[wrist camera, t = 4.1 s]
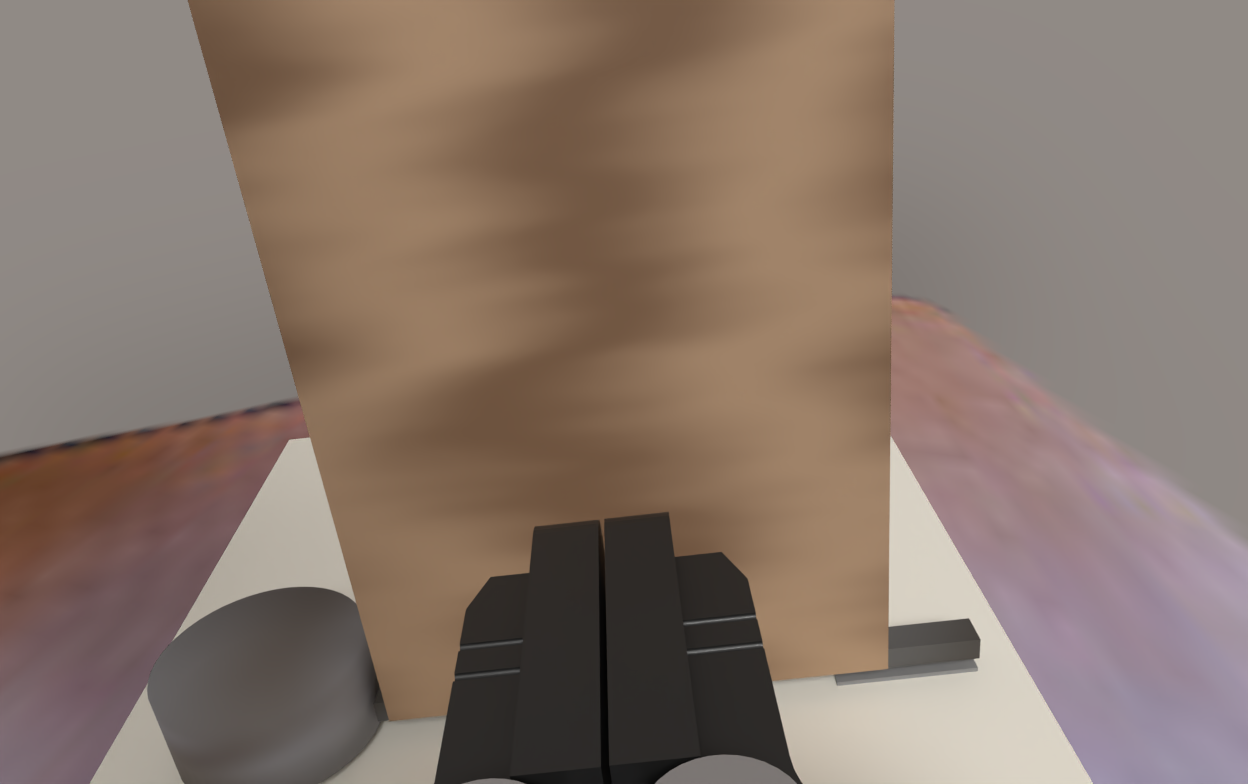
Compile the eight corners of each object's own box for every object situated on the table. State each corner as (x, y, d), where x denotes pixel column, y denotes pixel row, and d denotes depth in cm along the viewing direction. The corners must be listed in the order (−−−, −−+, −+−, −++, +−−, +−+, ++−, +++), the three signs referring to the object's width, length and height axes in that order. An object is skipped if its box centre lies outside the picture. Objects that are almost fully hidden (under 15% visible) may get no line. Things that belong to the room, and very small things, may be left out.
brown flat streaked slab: (143, 816, 20) (-259, -80, 13) (218, 665, 24) (-56, -80, 17) (1012, 726, 19) (1093, -246, 12) (941, 588, 23) (970, -206, 16)
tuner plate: (41, 971, 19) (8, 915, 18) (299, 476, 35) (288, 437, 35) (1098, 864, 18) (1107, 803, 18) (856, 414, 35) (856, 374, 34)
